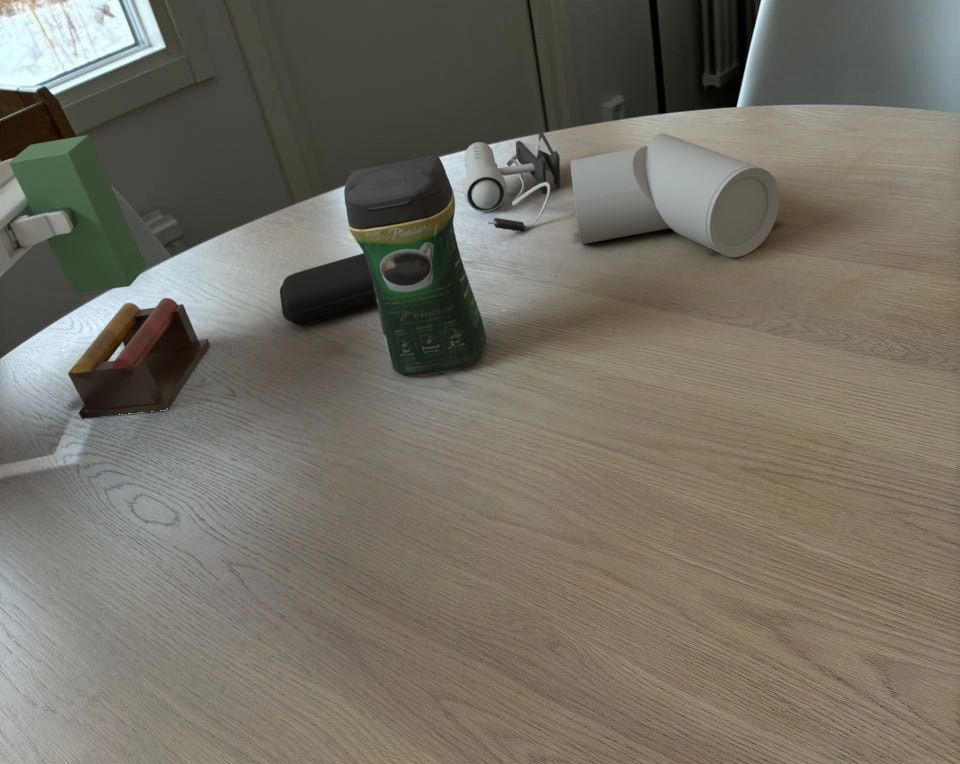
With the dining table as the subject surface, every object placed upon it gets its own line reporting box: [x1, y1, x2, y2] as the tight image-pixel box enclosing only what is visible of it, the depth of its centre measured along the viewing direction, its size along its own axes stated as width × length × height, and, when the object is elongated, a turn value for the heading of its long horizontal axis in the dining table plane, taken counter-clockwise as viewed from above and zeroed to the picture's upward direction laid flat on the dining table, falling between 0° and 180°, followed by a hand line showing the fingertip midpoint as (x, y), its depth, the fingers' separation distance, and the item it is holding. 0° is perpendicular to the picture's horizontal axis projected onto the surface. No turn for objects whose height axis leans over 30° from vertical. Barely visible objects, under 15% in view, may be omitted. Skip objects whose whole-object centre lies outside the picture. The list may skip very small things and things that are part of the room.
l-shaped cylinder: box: [570, 132, 781, 258], centre depth 108 cm, size 18×11×20 cm
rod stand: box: [67, 297, 211, 420], centre depth 110 cm, size 10×13×6 cm
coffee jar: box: [343, 154, 487, 377], centre depth 97 cm, size 10×8×19 cm
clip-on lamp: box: [463, 131, 561, 233], centre depth 124 cm, size 12×6×18 cm
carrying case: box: [279, 253, 378, 326], centre depth 115 cm, size 11×3×15 cm
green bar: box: [9, 134, 147, 294], centre depth 94 cm, size 6×4×12 cm, turn 80°
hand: (85, 206), depth 93 cm, fingers closed on green bar, 4 cm apart
